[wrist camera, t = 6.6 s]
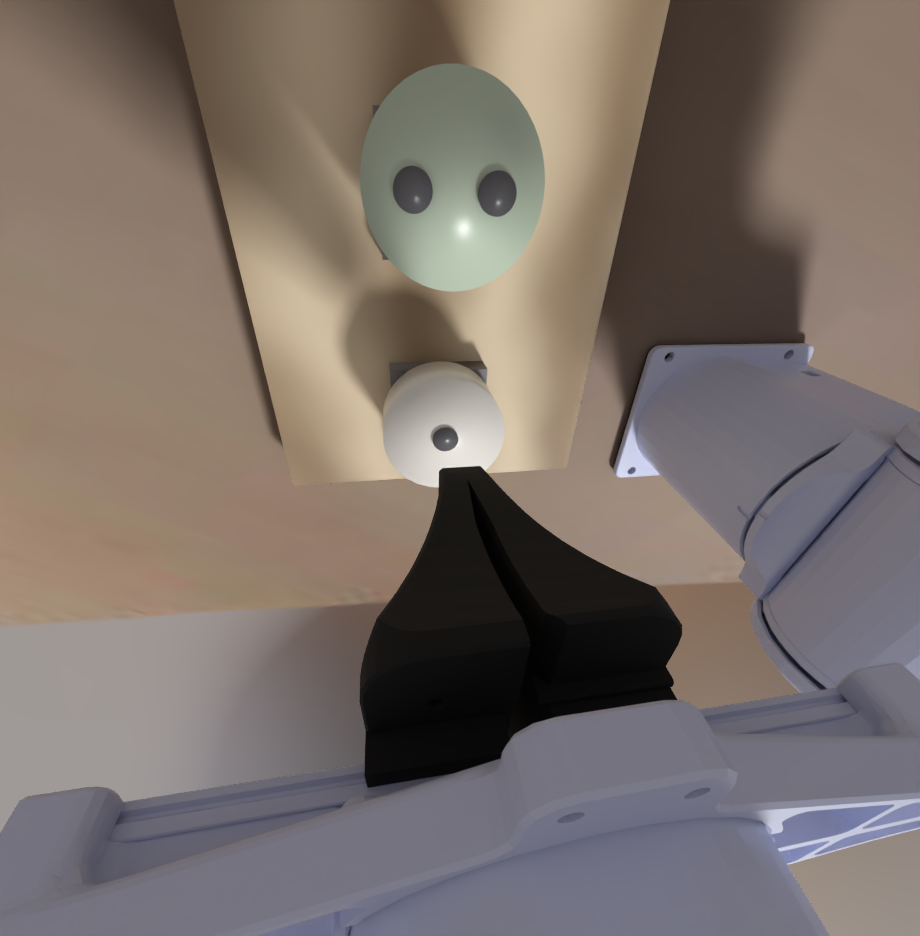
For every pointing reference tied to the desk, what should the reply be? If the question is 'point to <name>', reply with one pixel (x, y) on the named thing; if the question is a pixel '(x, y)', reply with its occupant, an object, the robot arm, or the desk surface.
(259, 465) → the desk surface
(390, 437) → the off-white button
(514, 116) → the sage button
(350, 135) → the button panel
